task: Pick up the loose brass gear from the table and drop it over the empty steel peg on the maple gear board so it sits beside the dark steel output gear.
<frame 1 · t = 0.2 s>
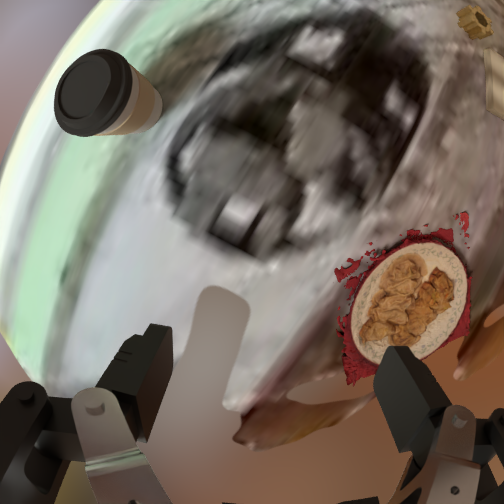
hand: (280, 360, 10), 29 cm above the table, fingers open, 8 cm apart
coffee cup: (139, 109, 34), on the table
brass gear: (468, 25, 26), on the table
plate with food: (407, 300, 42), on the table
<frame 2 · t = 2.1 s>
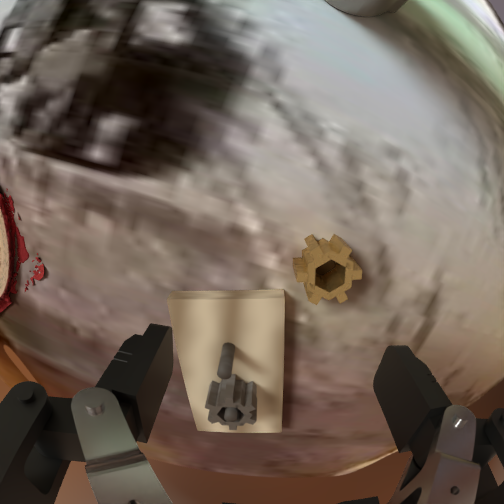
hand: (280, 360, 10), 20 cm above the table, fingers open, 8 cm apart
brass gear: (322, 261, 30), on the table
gear board: (233, 369, 34), on the table
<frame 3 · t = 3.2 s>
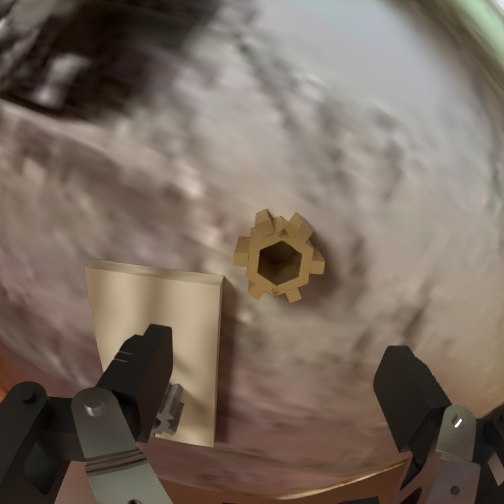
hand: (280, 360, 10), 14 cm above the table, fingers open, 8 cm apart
brass gear: (276, 246, 23), on the table
gear board: (160, 365, 28), on the table
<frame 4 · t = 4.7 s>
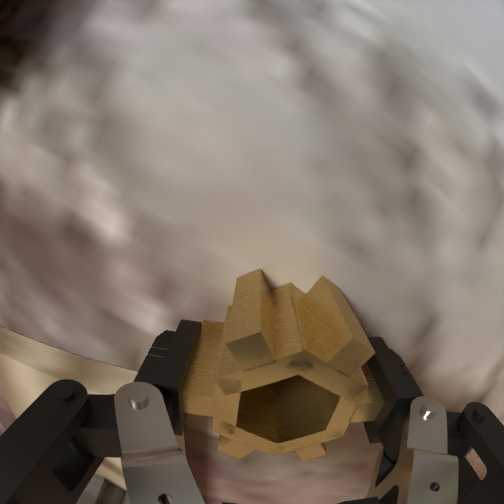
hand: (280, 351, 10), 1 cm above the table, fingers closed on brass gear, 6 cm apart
brass gear: (279, 338, 11), on the table, touching gripper
gear board: (110, 461, 15), on the table
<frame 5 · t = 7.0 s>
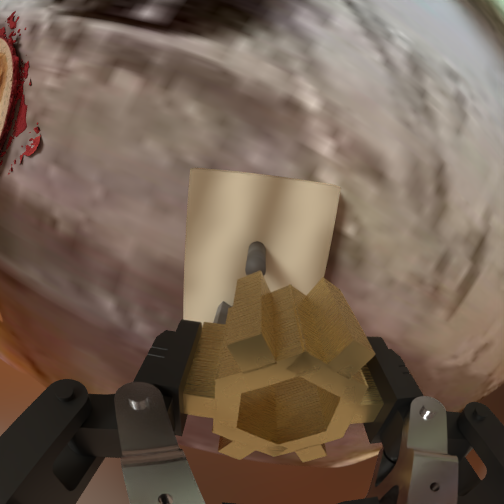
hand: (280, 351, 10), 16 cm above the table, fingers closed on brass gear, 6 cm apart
brass gear: (280, 339, 11), point 15 cm above the table, touching gripper
gear board: (251, 293, 28), on the table
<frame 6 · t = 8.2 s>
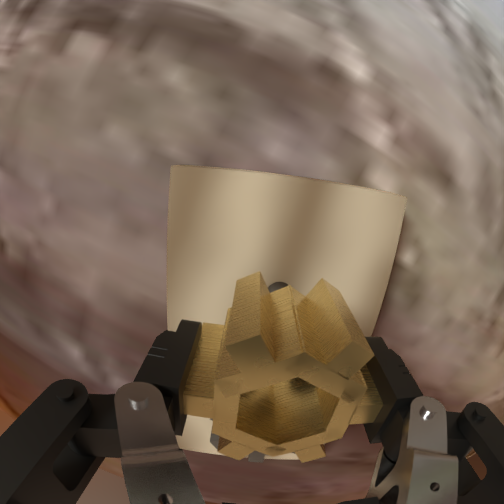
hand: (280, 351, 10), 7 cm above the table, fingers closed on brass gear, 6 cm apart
brass gear: (279, 340, 11), point 6 cm above the table, touching gripper
gear board: (266, 347, 19), on the table
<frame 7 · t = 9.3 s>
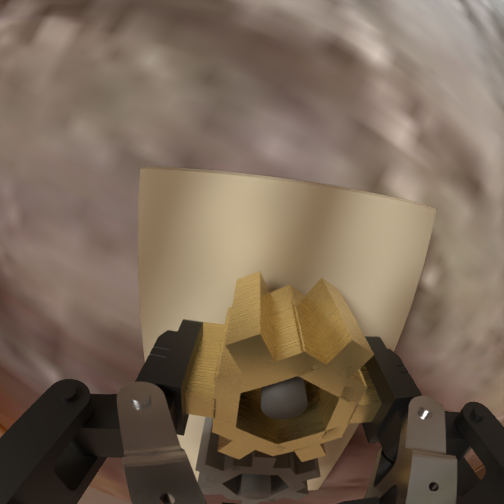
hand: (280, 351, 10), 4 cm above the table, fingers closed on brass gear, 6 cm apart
brass gear: (279, 339, 11), point 3 cm above the table, touching gripper
gear board: (261, 381, 16), on the table
when the fingers open (4 cm above the table, at t = 9.5 s): brass gear stays where it is, resting on gear board.
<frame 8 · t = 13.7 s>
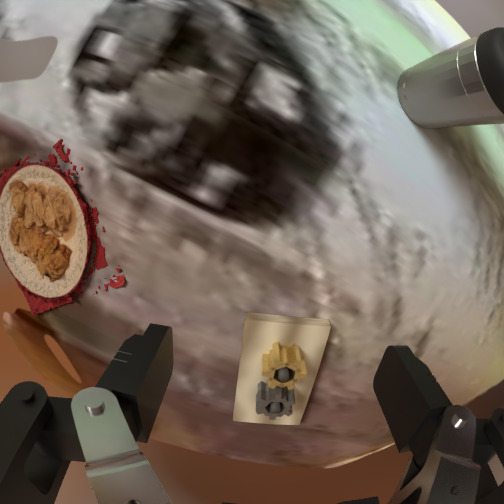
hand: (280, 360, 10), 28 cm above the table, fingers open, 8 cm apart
brass gear: (282, 357, 41), point 2 cm above the table, touching gear board
gear board: (276, 373, 44), on the table
plate with food: (45, 227, 39), on the table
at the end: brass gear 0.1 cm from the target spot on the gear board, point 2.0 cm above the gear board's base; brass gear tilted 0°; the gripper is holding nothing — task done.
